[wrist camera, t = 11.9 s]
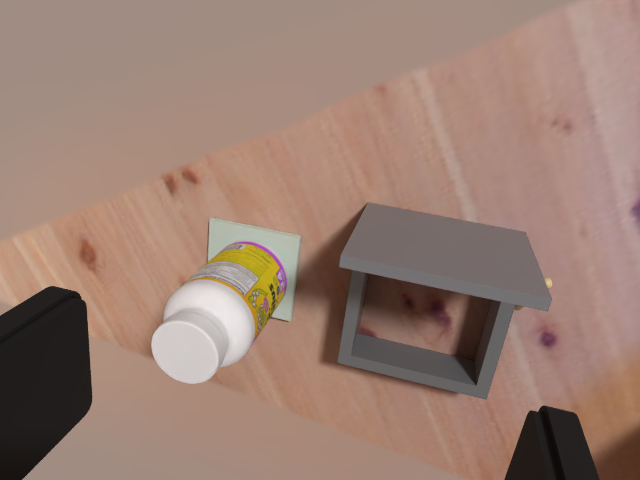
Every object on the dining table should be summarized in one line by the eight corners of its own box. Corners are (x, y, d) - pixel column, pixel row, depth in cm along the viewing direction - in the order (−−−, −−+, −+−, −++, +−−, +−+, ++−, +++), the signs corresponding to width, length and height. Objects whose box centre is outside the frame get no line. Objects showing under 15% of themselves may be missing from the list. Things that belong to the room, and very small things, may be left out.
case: (538, 234, 38) (570, 302, 28) (495, 376, 43) (508, 476, 33) (368, 202, 40) (340, 255, 30) (345, 340, 45) (315, 424, 35)
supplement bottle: (273, 319, 46) (211, 415, 34) (208, 284, 46) (125, 366, 34) (303, 260, 43) (247, 341, 31) (233, 222, 43) (152, 289, 31)
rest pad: (301, 235, 43) (299, 238, 42) (292, 318, 46) (290, 321, 45) (212, 217, 44) (209, 219, 43) (209, 298, 47) (206, 301, 47)
